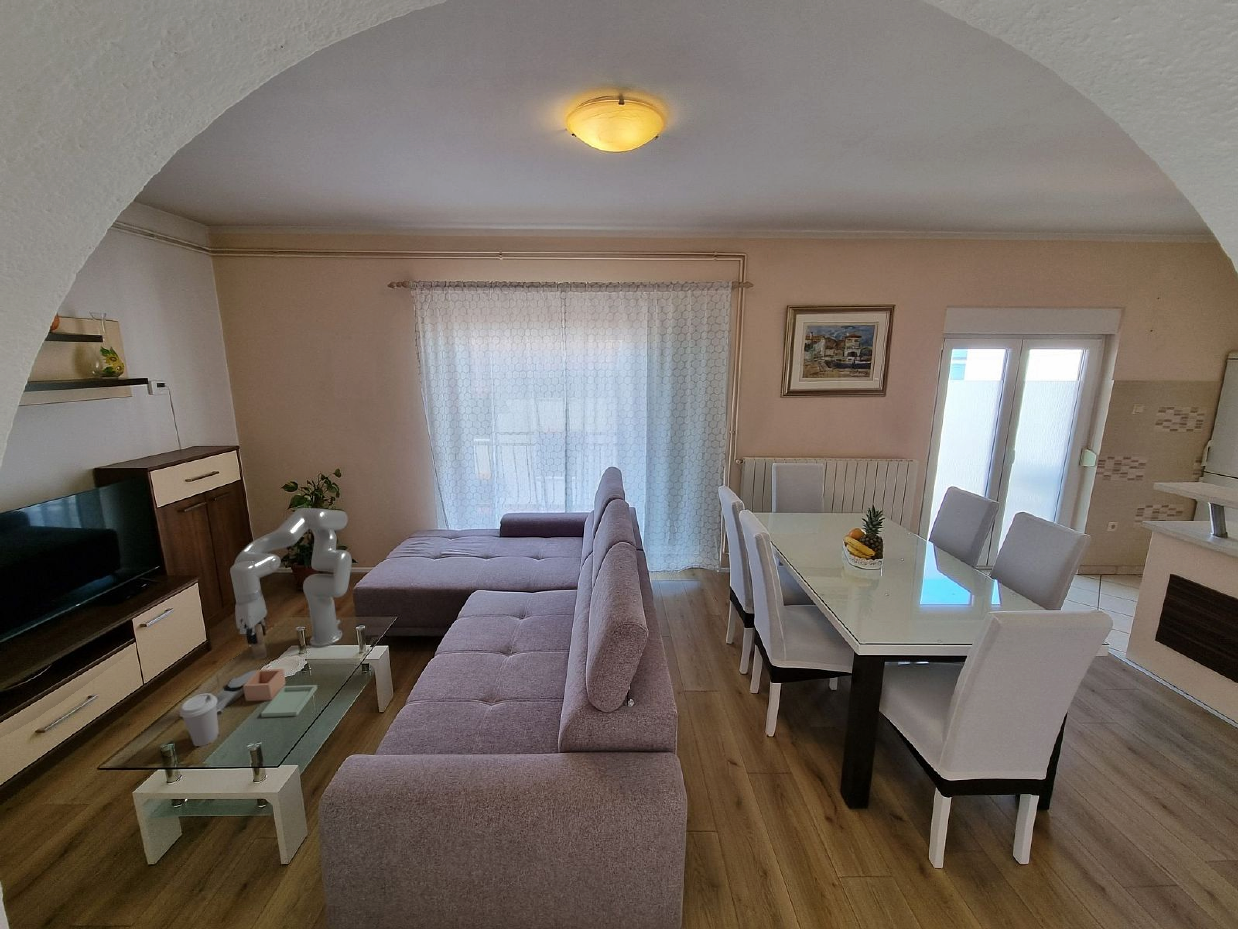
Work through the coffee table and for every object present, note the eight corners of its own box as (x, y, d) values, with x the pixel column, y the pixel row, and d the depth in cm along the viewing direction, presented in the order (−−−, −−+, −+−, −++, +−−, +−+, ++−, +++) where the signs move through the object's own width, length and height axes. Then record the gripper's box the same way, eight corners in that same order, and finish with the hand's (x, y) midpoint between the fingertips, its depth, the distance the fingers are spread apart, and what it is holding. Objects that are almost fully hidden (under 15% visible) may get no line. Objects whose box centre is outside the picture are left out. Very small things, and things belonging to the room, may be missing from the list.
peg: (258, 654, 182) (252, 623, 178) (269, 653, 182) (263, 623, 179) (251, 661, 178) (245, 630, 175) (262, 660, 178) (257, 629, 175)
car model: (186, 720, 171) (183, 708, 170) (248, 675, 194) (245, 664, 193) (213, 725, 169) (211, 713, 168) (272, 678, 193) (270, 668, 191)
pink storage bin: (261, 686, 188) (258, 669, 186) (286, 685, 188) (283, 669, 187) (246, 703, 179) (243, 686, 177) (272, 702, 180) (268, 685, 178)
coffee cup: (203, 753, 157) (194, 714, 154) (179, 747, 159) (170, 709, 156) (231, 730, 167) (223, 694, 163) (209, 725, 168) (200, 689, 165)
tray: (284, 691, 185) (283, 686, 185) (317, 690, 186) (316, 685, 186) (261, 719, 172) (260, 713, 171) (297, 718, 173) (296, 712, 172)
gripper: (252, 584, 181) (260, 626, 186) (221, 608, 165) (230, 654, 170) (273, 583, 182) (281, 626, 186) (244, 607, 166) (253, 653, 170)
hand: (257, 639), depth 178 cm, fingers closed on peg, 4 cm apart
